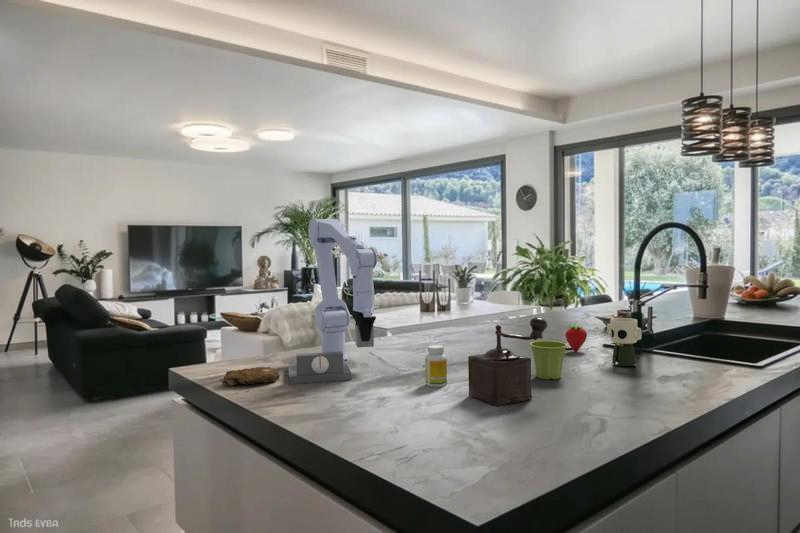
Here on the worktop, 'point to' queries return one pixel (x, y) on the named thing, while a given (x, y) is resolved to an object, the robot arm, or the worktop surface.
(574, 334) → the strawberry
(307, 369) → the scale
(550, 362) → the plant pot
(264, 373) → the decorative rock
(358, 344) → the block
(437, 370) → the supplement bottle
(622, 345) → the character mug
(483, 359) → the manual coffee grinder
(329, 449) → the worktop surface
